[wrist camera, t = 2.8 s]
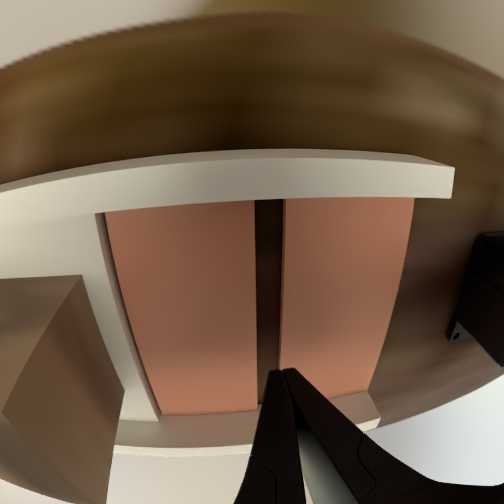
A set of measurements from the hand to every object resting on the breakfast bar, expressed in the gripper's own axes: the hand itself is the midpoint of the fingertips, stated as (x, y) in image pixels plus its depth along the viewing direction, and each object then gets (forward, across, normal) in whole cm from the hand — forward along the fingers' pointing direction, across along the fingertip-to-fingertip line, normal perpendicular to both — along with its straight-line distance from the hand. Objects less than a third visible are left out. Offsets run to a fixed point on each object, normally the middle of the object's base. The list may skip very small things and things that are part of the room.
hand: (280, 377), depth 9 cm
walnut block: (+2, +9, 0) cm, 10 cm away
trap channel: (+3, +9, 0) cm, 10 cm away
